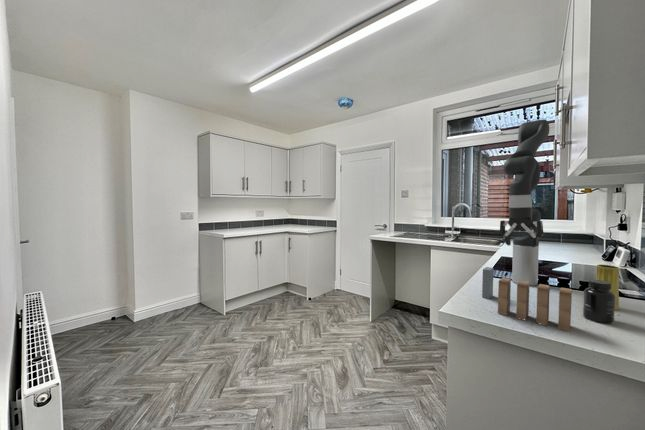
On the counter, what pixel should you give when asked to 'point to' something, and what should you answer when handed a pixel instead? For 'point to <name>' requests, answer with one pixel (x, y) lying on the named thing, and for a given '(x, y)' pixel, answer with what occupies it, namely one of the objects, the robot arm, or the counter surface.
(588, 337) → the counter surface
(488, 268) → the domino
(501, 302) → the domino
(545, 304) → the domino
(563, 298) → the domino
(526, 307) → the domino
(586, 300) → the supplement bottle
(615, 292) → the vase
